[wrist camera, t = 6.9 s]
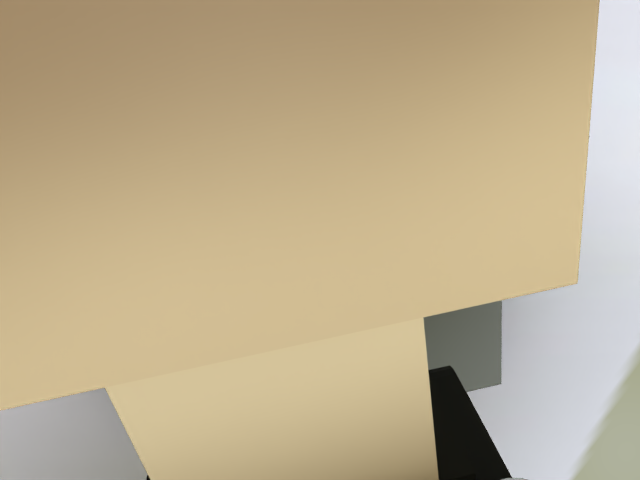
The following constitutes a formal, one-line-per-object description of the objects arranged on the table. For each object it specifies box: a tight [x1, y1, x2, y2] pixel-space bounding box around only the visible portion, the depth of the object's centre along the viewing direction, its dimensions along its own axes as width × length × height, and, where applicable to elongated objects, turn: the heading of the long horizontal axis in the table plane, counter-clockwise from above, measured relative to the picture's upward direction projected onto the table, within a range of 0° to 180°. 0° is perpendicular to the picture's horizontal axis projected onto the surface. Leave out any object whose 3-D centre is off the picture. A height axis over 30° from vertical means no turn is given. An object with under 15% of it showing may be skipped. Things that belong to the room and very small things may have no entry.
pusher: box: [0, 0, 600, 480], centre depth 8 cm, size 15×6×6 cm, turn 10°
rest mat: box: [423, 300, 502, 392], centre depth 13 cm, size 20×13×1 cm, turn 10°
